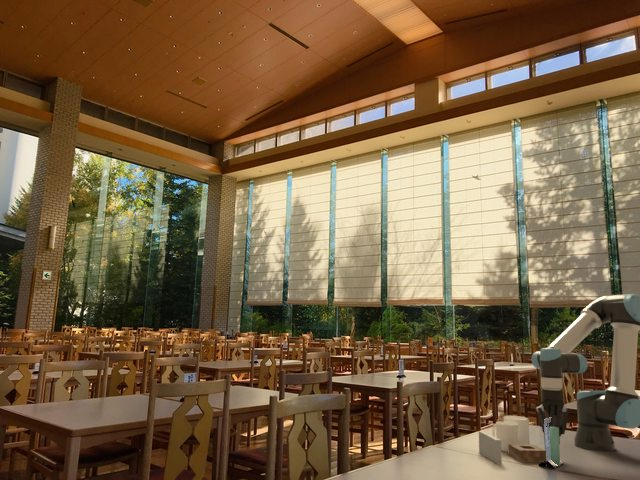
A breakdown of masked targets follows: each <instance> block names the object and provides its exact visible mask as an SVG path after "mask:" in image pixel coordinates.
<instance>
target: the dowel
mask: <svg viewBox="0 0 640 480" xmlns="http://www.w3.org/2000/svg"><path fill="white" fill-rule="evenodd" d="M549 445H550V446H549V447H550V461H551V460H552V461H553V462H554V463H555V464H557V465H558V466H557V467H561V452H560V451H561V450H560V445H559V428H558V427H554V426H553V427H550V444H549Z"/></svg>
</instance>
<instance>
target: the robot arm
mask: <svg viewBox="0 0 640 480" xmlns="http://www.w3.org/2000/svg"><path fill="white" fill-rule="evenodd" d="M607 323H610V325H611V326H612V327H613V343H612V357H611V369H610V370H611V372H610V384H609V385H610V386H608V387H607V388H606V389H605V390H579V391H578V392H577V393H576V410H577V429H576V432H575V435H574V441H573V443H574V445H575V446H577V447H579V448H582V449H587V450H593V451H602V452H606V451H607V452H608V451H610V452H611V451H615V450H616V445H615V441H614V438H613V436H612V434H611V431H610V426H614V427H618V428H622V429H629V430H630V429H631V430H632V429H636V428H638V427H639V426H640V400H639V397H640V395H639V394H638V393H637V391H636V373H637V358H638V357H637V356H638V355H637V354H638V342H639V341H638V338H639V331H640V294H635V293H633V294H632V293H626V294H609V295H608V294H607V295H603V296H599V297H598V298H597V299H595V300H593V301H592V302H590V303H589V304H588V305H586V306H585V307H584V308H583V309H581V311H580V315H579V316H578V317H577V318H576V319H575V320H574V321H573V322H572V323H571V324H570V325H568V327H567V328H566V329H565V330H564V331H562V332H561V334H560V335H558V336H557V338H555V339H554V340H553V341H552V342H551V343H550V344H549V345H548V346H547V347H542V348H541V349H540V350H539V351H538V350H537V351H535V352H533V354H532V355H531V364H532V365H533V367H534V368H535V369H537V370H540V383H541V385H540V386H541V388H542V389H540V390H541V403H540V405H539V406H536V407H535V411H536V412H537V414H538V419H539V422H540V423H539V424H540V426H541V431H542V433H544V426H543V424H544V419H547V418H549V417H552V418H551V422H550V423H549V428H550V427H558V428H559V446H560V444H561V439H560V437H561V436H562V435H565V433H566V428H567V422H568V416H569V413H570V411H571V409H570V408H569V407H566V406H565V403H564V391H563V388H564V387H563V385H564V384H563V374H577V375H578V374H584V373H585V372H586V371H587V369H588V360H587V358H586V357H585V356H584V355H583V354H582V353H581V354H580V353H572V351H573V350H574V349H575V348H576V347H577V346H578V345H579V344H580V343H581V342H582V341H583V340H584V339H585V338H586V337H588V336H589V335H590V334H591V333H592V332H593V331H594V330H595V329H598V328H600V327H601V326H602V325H605V324H607ZM544 412H545V413H544ZM545 415H546V416H545ZM546 427H547V426H546Z"/></svg>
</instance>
